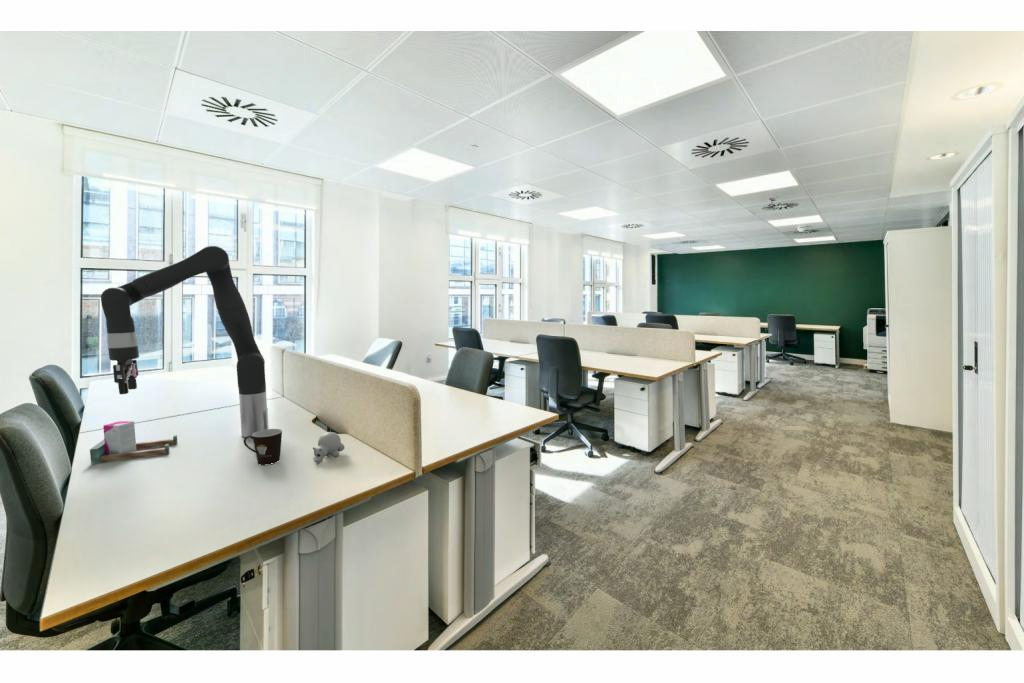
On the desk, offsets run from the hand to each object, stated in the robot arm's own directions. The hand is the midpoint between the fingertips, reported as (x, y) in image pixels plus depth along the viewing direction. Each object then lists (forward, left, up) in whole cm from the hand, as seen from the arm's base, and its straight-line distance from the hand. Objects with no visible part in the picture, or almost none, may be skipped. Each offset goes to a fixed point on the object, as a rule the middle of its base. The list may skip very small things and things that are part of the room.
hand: (128, 391), depth 143 cm
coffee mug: (-42, +30, -22) cm, 57 cm away
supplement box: (+3, +2, -22) cm, 22 cm away
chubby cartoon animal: (-61, +37, -22) cm, 74 cm away
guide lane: (-1, +2, -22) cm, 22 cm away
